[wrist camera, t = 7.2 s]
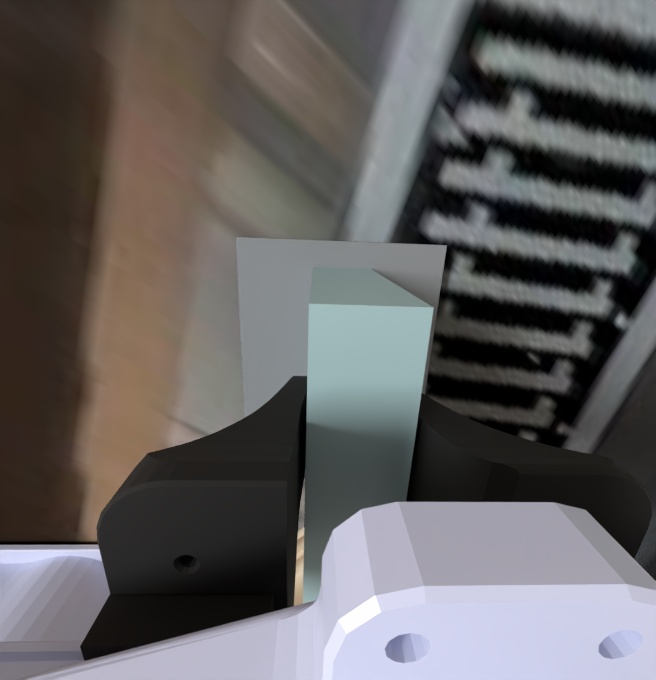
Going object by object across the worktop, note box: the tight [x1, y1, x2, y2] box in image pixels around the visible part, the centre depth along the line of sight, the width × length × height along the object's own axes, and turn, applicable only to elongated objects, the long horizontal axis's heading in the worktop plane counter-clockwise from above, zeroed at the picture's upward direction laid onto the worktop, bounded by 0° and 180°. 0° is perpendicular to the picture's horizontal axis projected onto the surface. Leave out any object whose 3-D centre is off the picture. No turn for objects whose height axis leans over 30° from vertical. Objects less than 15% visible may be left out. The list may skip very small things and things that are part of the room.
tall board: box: [303, 266, 434, 603], centre depth 12 cm, size 2×9×8 cm, turn 178°
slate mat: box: [236, 237, 447, 417], centre depth 16 cm, size 9×11×1 cm
